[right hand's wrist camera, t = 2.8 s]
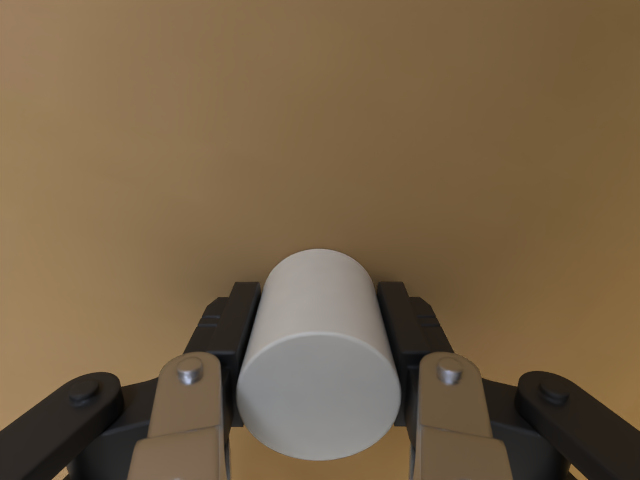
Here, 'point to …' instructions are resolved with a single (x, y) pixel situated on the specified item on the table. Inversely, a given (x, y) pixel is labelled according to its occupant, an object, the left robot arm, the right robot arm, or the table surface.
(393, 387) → the can
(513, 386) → the right robot arm
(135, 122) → the table surface
